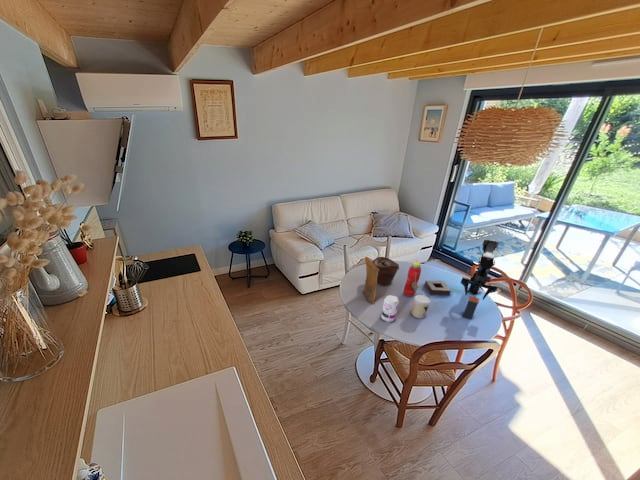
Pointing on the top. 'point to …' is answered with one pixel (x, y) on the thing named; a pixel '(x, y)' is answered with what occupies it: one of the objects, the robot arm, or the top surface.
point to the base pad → (437, 288)
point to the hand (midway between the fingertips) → (474, 297)
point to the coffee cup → (420, 306)
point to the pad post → (471, 307)
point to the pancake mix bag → (370, 280)
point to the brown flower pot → (385, 270)
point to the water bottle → (412, 279)
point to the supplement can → (389, 308)
